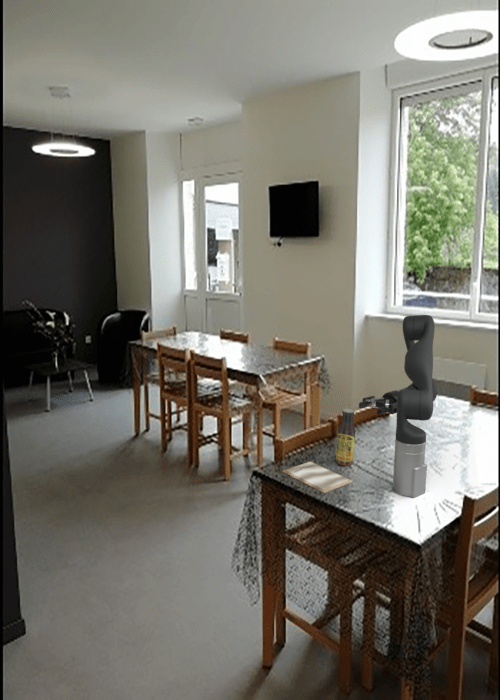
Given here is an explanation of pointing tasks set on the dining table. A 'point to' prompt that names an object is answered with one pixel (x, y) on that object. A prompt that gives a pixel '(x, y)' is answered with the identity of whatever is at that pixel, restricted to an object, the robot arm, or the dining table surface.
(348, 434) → the sauce bottle
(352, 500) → the dining table surface
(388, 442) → the dining table surface
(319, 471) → the notepad
